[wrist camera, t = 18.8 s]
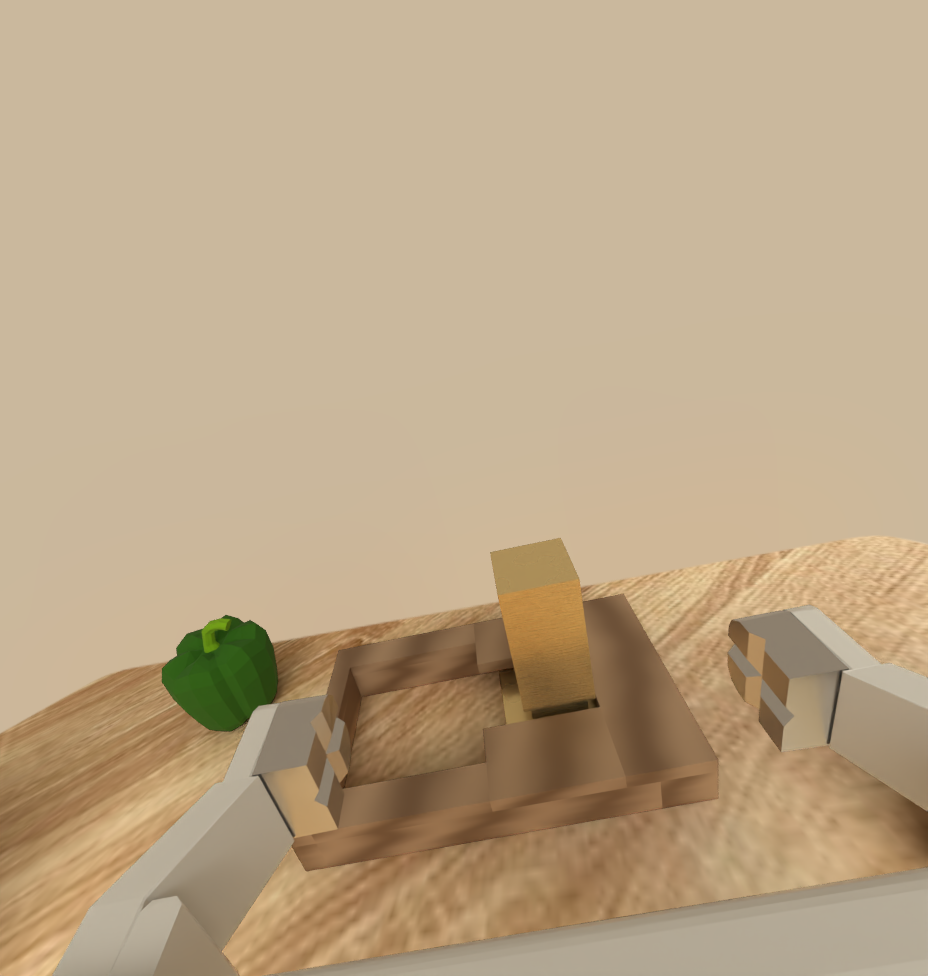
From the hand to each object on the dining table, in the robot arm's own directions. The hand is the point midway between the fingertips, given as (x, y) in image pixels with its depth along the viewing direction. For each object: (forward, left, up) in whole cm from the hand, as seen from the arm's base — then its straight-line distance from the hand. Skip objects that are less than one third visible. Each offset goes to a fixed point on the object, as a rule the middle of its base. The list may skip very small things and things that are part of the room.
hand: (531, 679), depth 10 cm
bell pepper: (-26, +26, -24) cm, 44 cm away
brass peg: (+2, +19, -24) cm, 31 cm away
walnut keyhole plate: (-3, +19, -24) cm, 31 cm away
